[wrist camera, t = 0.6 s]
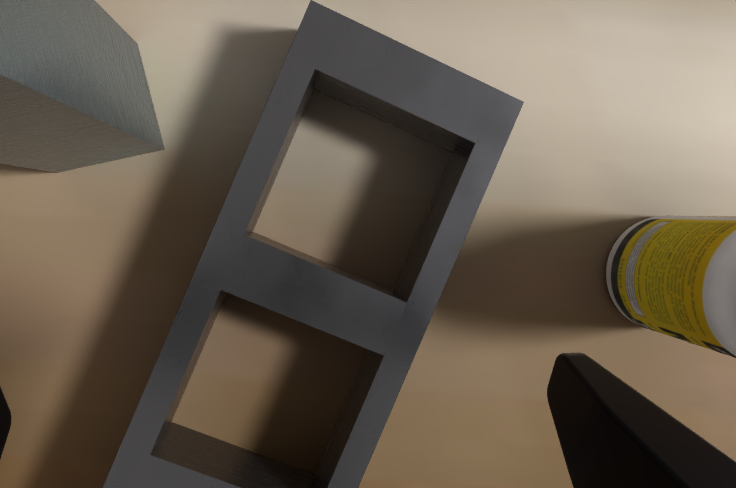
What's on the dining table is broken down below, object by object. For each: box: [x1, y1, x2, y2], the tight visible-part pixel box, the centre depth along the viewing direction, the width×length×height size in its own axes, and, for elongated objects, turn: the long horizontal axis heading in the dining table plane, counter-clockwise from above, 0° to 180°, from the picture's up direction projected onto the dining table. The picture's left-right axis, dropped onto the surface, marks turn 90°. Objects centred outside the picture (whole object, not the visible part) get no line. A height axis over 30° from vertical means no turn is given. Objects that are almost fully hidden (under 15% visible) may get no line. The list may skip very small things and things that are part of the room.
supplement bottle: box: [606, 216, 736, 358], centre depth 20 cm, size 5×5×8 cm
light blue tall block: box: [0, 0, 164, 173], centre depth 15 cm, size 4×4×12 cm
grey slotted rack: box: [103, 0, 524, 488], centre depth 21 cm, size 26×8×3 cm, turn 157°
